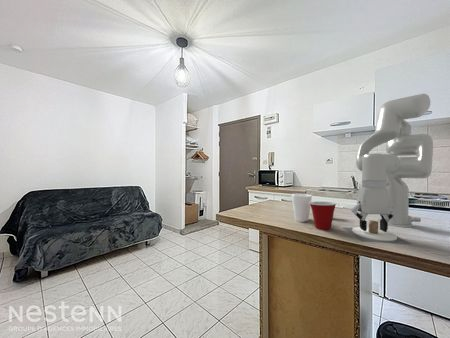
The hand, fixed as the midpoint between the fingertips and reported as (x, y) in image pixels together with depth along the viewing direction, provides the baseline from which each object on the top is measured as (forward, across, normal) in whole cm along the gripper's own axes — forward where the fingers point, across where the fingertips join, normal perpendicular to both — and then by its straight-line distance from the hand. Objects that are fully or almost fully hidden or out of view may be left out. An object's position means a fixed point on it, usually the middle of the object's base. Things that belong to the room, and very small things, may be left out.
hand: (373, 229), depth 77 cm
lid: (+2, 0, 0) cm, 2 cm away
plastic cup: (+3, +17, -6) cm, 18 cm away
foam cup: (+3, +23, -19) cm, 30 cm away
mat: (+2, 0, 0) cm, 2 cm away
